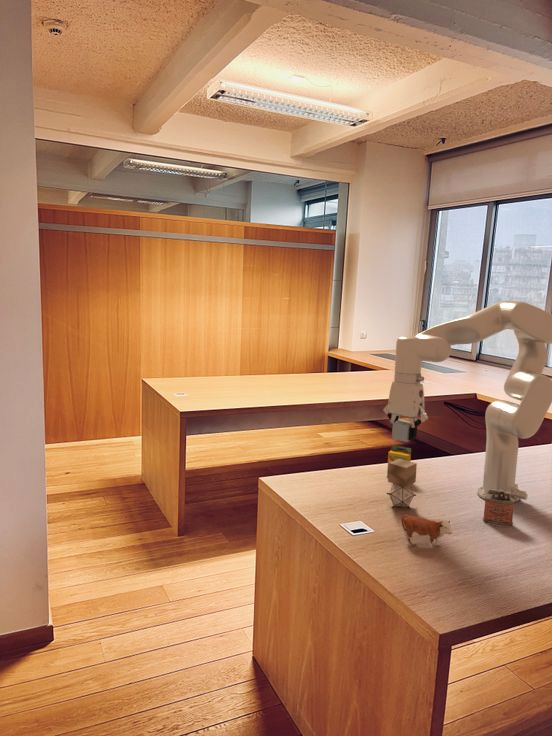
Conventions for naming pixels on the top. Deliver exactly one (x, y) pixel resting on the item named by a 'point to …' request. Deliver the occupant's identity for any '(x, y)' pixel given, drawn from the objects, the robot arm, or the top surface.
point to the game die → (401, 495)
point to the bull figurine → (425, 528)
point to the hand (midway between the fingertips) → (403, 437)
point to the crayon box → (398, 454)
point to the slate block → (401, 430)
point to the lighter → (499, 508)
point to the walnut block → (402, 472)
